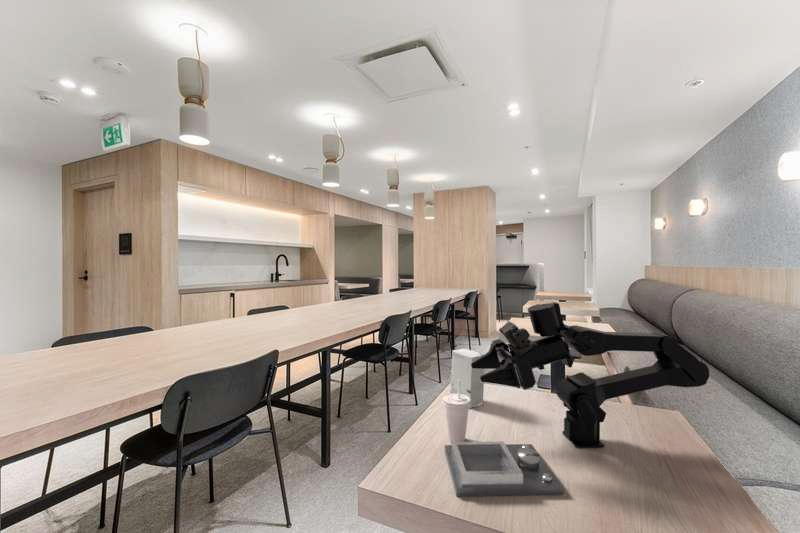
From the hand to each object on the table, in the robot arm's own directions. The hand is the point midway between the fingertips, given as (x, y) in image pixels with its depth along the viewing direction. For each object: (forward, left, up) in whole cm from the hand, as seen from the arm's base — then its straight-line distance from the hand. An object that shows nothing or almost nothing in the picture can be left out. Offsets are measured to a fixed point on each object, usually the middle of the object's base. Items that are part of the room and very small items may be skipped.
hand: (475, 372), depth 79 cm
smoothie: (+4, -1, -16) cm, 17 cm away
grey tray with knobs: (-2, +11, -16) cm, 20 cm away
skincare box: (-3, -22, -16) cm, 27 cm away
